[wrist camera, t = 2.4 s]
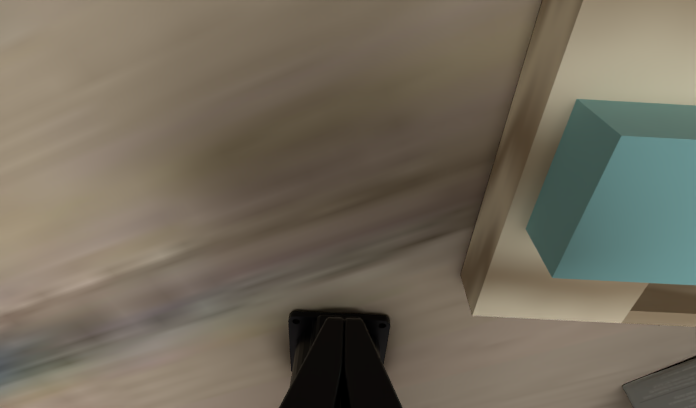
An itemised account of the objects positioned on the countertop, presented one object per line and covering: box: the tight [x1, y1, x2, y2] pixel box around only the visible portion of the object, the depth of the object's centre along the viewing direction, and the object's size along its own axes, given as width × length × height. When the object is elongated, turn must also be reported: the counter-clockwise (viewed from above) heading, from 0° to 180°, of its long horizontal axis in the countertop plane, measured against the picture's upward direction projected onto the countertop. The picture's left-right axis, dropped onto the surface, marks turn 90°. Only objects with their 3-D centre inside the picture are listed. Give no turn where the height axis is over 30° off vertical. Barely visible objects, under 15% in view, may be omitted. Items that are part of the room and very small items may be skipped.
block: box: [526, 99, 696, 285], centre depth 15 cm, size 6×6×3 cm
